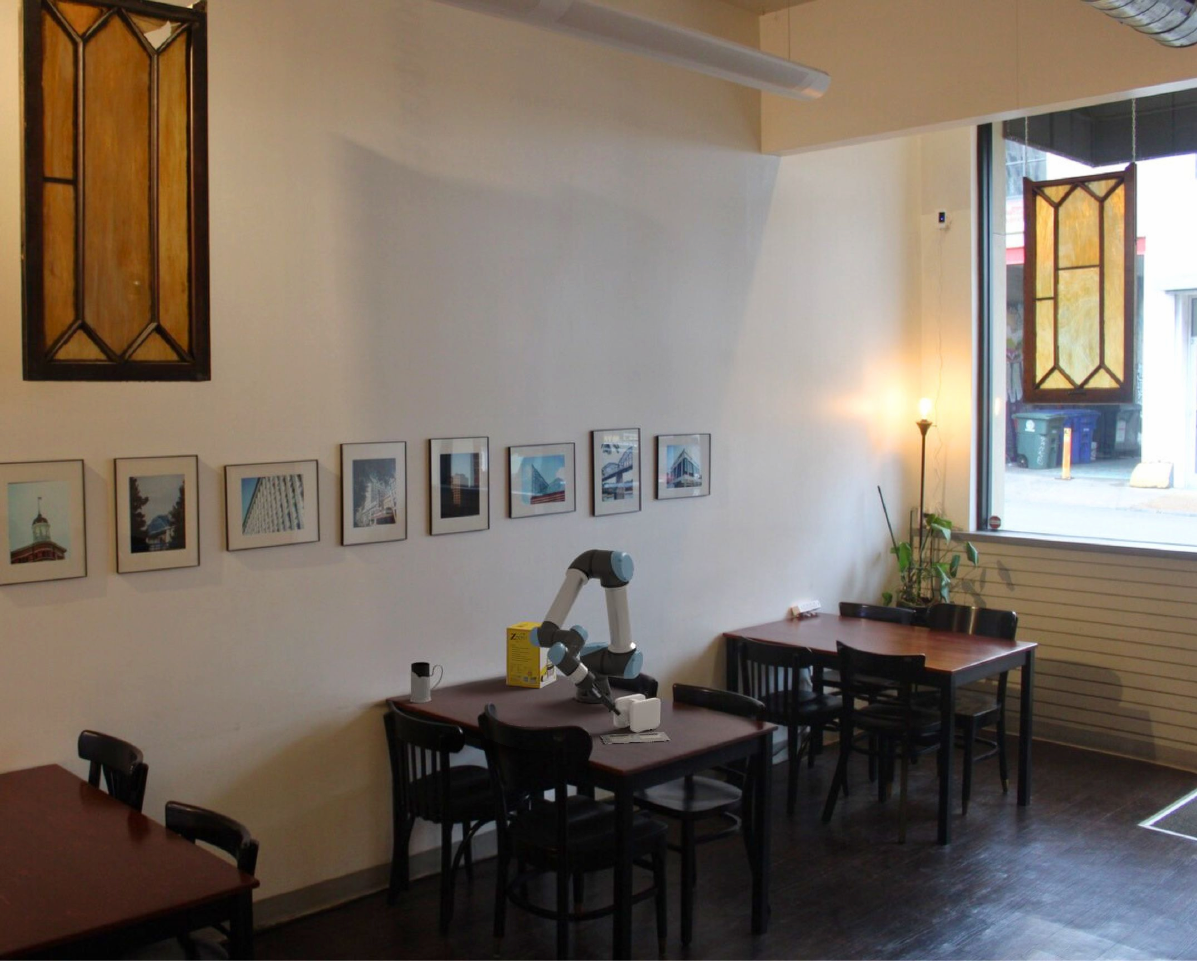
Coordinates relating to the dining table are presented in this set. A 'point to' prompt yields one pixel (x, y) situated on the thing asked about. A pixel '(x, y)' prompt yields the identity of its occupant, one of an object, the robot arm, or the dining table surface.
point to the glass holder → (421, 682)
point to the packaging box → (526, 659)
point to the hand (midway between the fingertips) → (624, 719)
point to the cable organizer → (638, 712)
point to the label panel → (634, 737)
